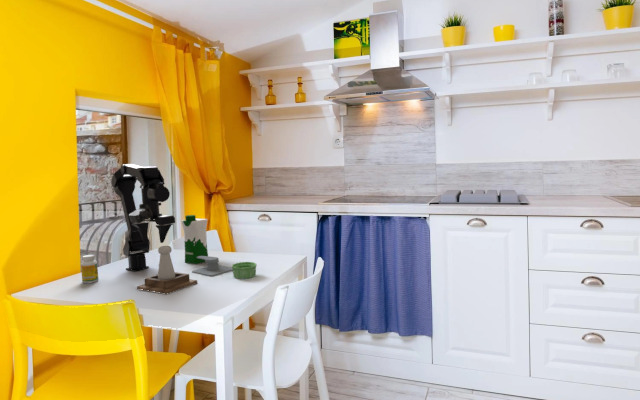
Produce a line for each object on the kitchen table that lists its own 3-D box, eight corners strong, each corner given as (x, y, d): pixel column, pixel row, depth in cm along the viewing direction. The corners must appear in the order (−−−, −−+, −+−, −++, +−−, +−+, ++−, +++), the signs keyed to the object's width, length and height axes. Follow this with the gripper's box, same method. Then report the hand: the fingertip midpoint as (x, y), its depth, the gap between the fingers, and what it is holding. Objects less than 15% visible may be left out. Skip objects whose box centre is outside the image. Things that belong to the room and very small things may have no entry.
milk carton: (181, 262, 194) (178, 215, 192) (197, 258, 201) (195, 213, 199) (196, 265, 189) (193, 216, 187) (212, 260, 196) (209, 214, 194)
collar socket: (137, 289, 156) (136, 279, 156) (168, 278, 168) (168, 269, 168) (166, 294, 149) (165, 283, 149) (197, 283, 162) (196, 273, 161)
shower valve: (211, 252, 188) (236, 256, 179) (212, 265, 189) (236, 270, 179) (185, 258, 178) (210, 263, 169) (186, 272, 179) (211, 277, 170)
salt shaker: (156, 282, 160) (154, 245, 159) (173, 279, 163) (171, 243, 162) (160, 286, 155) (157, 248, 154) (177, 283, 158) (175, 246, 156)
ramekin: (245, 281, 163) (244, 269, 162) (227, 277, 168) (226, 266, 167) (262, 275, 170) (261, 263, 170) (244, 272, 175) (243, 260, 175)
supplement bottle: (82, 280, 170) (80, 255, 169) (98, 278, 172) (96, 253, 171) (82, 284, 165) (79, 258, 164) (98, 282, 167) (96, 256, 166)
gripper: (114, 202, 168) (118, 244, 169) (150, 203, 159) (153, 248, 160) (139, 199, 177) (142, 239, 179) (174, 200, 168) (177, 242, 170)
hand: (153, 242), depth 172 cm, fingers open, 9 cm apart
